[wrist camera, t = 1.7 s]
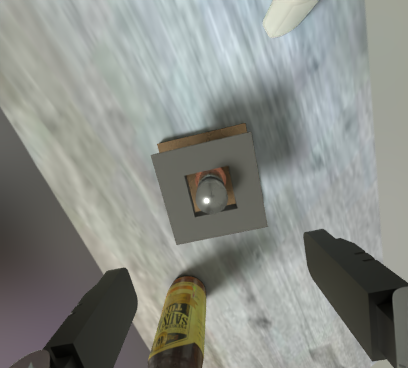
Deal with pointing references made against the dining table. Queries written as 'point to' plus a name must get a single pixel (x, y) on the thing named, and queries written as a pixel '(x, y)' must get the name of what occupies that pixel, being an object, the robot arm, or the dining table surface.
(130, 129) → the dining table surface
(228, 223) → the collar
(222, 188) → the bronze plate with post
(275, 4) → the eye dropper bottle
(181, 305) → the sauce bottle
